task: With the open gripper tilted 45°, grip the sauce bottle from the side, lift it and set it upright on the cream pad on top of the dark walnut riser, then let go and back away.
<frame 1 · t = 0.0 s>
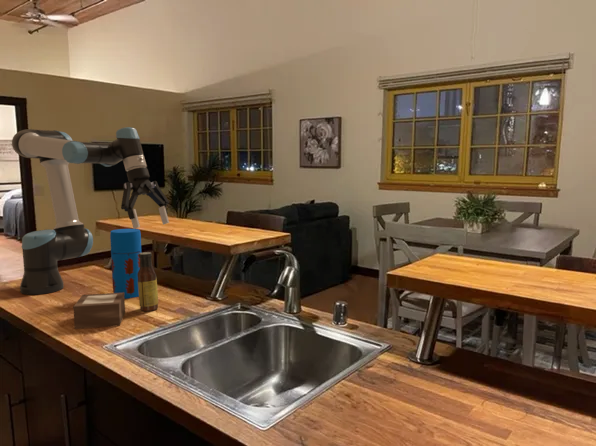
hand: (152, 225, 165), 28 cm above the worktop, tool tilted 20°, fingers open, 13 cm apart
riser: (101, 320, 147), on the worktop
thermos: (128, 295, 175), on the worktop
sauce bottle: (148, 309, 158), on the worktop
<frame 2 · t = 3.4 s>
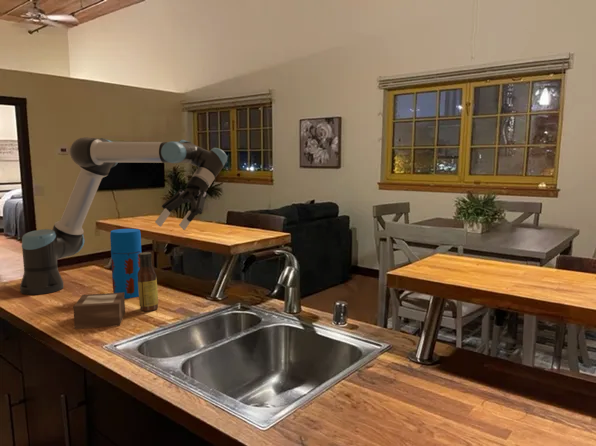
hand: (169, 226, 163), 28 cm above the worktop, tool tilted 45°, fingers open, 13 cm apart
nothing on the worktop moved.
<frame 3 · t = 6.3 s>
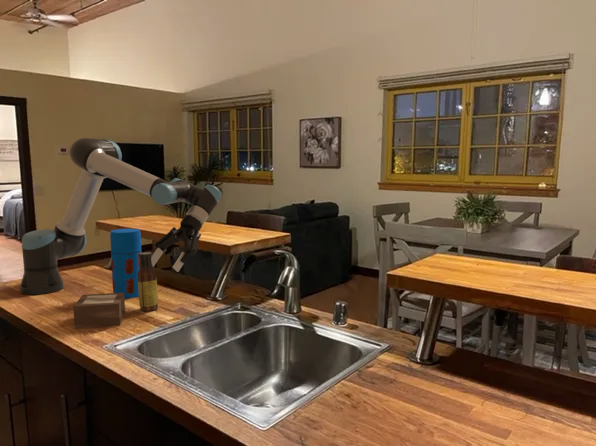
hand: (162, 267, 160), 14 cm above the worktop, tool tilted 45°, fingers open, 13 cm apart
nothing on the worktop moved.
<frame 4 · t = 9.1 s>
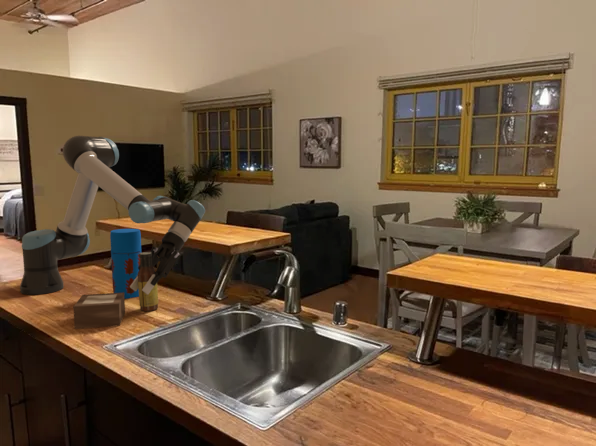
hand: (138, 290, 154), 7 cm above the worktop, tool tilted 45°, fingers closed on sauce bottle, 6 cm apart
sauce bottle: (148, 309, 158), on the worktop, touching gripper
everything else where it was.
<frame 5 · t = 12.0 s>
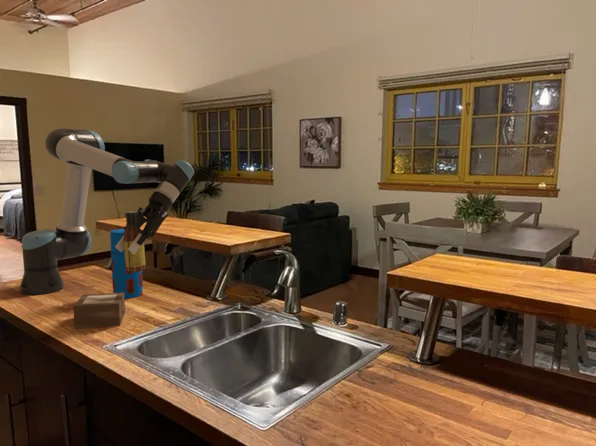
hand: (124, 250, 149), 22 cm above the worktop, tool tilted 45°, fingers closed on sauce bottle, 6 cm apart
sauce bottle: (135, 271, 153), point 14 cm above the worktop, touching gripper
everything else where it was.
when the fingers open (16 cm above the worktop, at t = 15.2 s): sauce bottle drops 1 cm, resting on riser.
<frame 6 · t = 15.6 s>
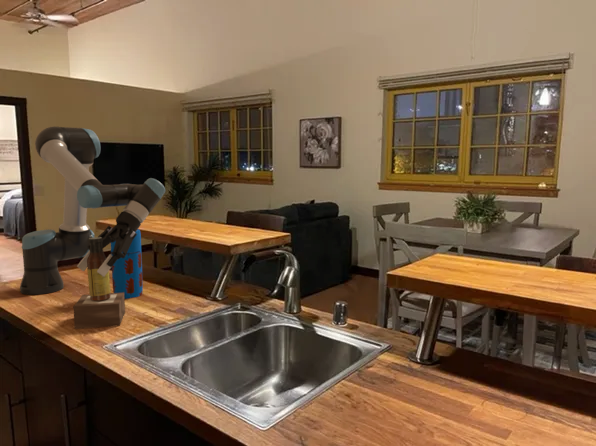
hand: (90, 271, 142), 17 cm above the worktop, tool tilted 45°, fingers open, 11 cm apart
sauce bottle: (100, 299, 146), point 7 cm above the worktop, touching riser
everything else where it was.
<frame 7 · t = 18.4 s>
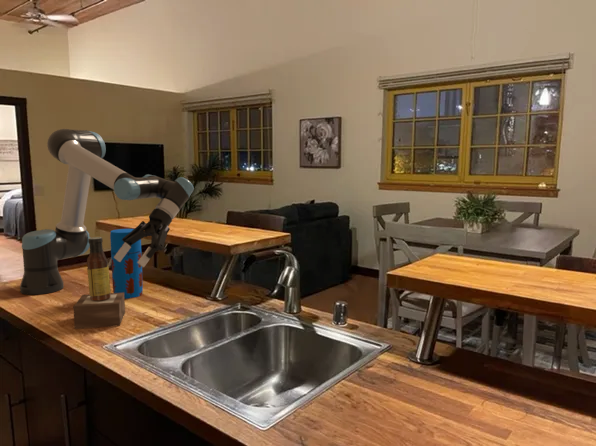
hand: (128, 262, 153), 17 cm above the worktop, tool tilted 45°, fingers open, 13 cm apart
nothing on the worktop moved.
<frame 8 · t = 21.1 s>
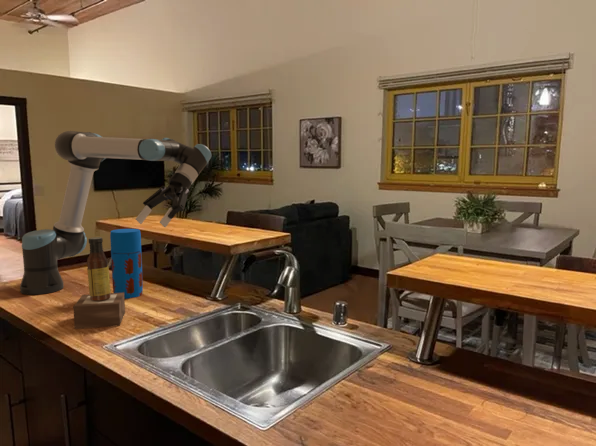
hand: (150, 223, 158), 30 cm above the worktop, tool tilted 45°, fingers open, 13 cm apart
nothing on the worktop moved.
at the end: sauce bottle inside the target area on the riser (0.2 cm from its centre), point 6.9 cm above the riser's base; sauce bottle tilted 0°; the gripper is holding nothing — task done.
